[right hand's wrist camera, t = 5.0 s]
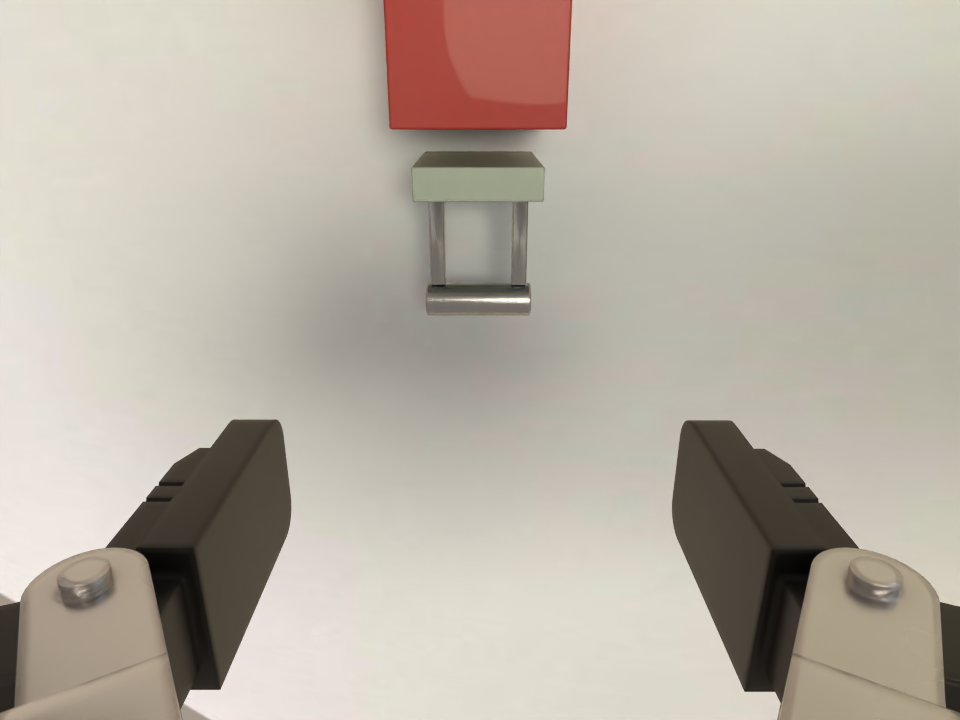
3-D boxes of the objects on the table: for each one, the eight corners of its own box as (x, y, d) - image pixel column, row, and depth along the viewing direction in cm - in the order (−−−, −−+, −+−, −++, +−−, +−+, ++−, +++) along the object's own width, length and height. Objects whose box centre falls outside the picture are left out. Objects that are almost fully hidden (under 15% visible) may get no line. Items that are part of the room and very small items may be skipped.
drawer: (528, 290, 32) (538, 335, 26) (429, 290, 32) (417, 335, 26) (545, -361, 24) (567, -512, 18) (410, -361, 24) (386, -511, 18)
